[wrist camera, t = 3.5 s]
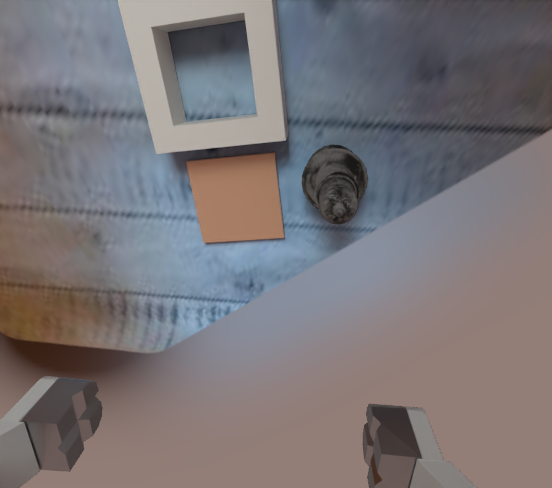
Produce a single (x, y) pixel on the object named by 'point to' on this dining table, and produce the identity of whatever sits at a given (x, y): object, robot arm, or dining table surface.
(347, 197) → the dark turned stone ornament
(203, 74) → the dining table surface
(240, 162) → the terracotta tile
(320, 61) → the dining table surface
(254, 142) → the socket block
